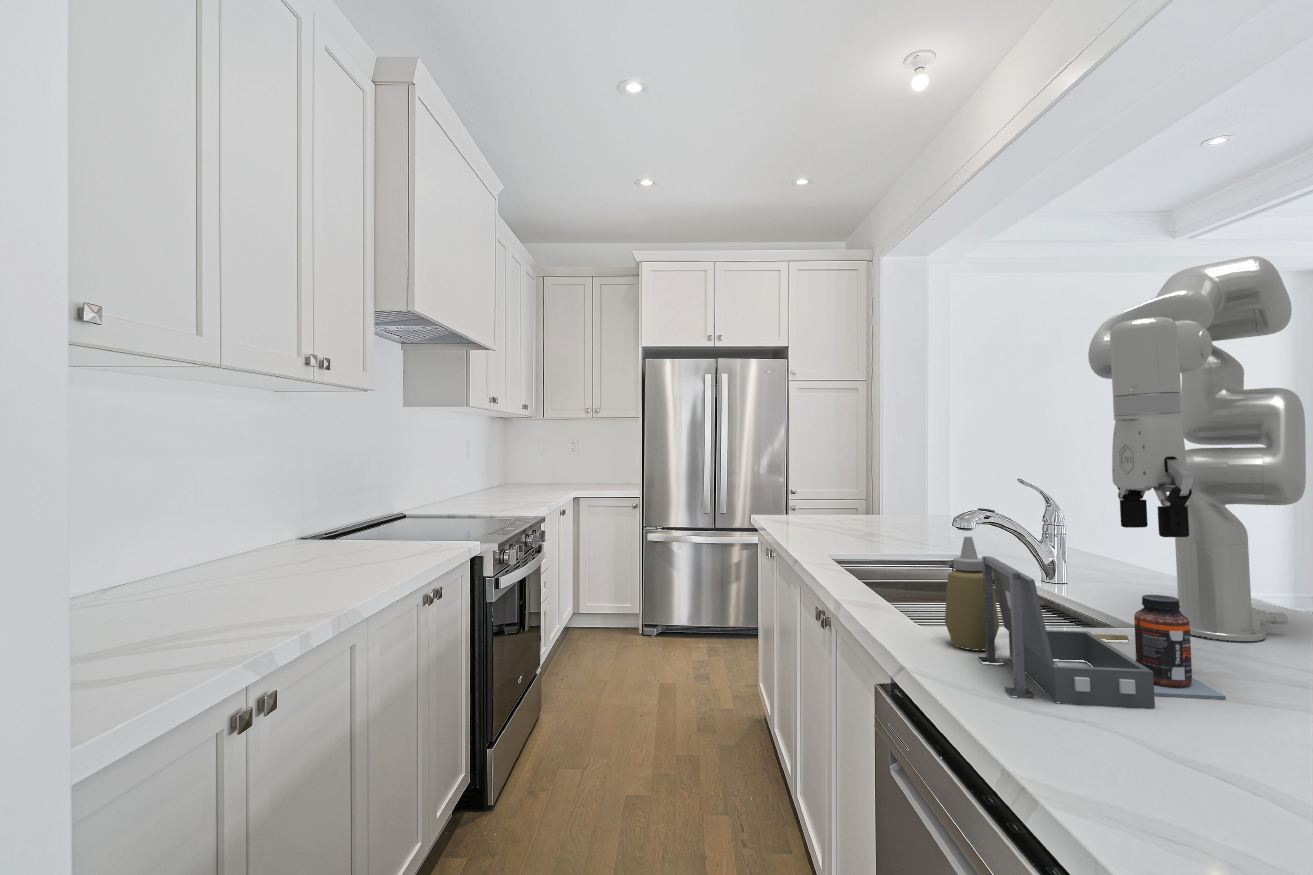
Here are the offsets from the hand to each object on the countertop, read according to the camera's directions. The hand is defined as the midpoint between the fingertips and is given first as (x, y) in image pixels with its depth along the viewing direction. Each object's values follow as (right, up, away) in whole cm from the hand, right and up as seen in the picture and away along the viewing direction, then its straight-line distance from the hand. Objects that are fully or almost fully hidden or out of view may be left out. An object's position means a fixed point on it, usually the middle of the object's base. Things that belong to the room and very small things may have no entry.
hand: (1153, 531), depth 87 cm
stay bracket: (-19, -21, +3) cm, 29 cm away
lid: (-17, -11, +2) cm, 20 cm away
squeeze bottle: (-17, -22, +17) cm, 32 cm away
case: (-10, -21, +1) cm, 23 cm away
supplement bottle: (0, -20, -1) cm, 20 cm away
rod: (+3, -21, +18) cm, 28 cm away
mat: (0, -21, -2) cm, 21 cm away
